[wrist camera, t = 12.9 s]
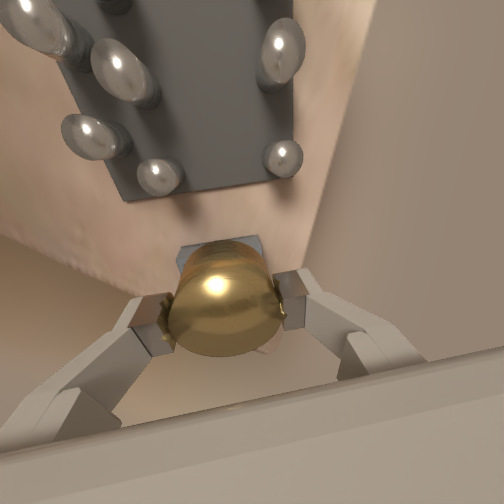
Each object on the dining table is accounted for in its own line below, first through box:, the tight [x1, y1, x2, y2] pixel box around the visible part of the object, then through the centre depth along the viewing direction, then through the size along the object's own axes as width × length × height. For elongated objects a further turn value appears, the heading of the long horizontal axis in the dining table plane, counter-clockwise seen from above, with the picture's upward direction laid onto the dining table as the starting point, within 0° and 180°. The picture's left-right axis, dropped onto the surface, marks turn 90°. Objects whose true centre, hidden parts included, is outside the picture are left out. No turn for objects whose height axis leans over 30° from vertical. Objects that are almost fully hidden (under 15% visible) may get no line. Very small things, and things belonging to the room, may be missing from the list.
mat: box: [51, 0, 293, 202], centre depth 15 cm, size 17×16×1 cm
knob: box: [168, 240, 281, 357], centre depth 9 cm, size 4×4×3 cm
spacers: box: [0, 0, 306, 196], centre depth 13 cm, size 16×14×4 cm
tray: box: [176, 235, 263, 275], centre depth 23 cm, size 9×8×3 cm
